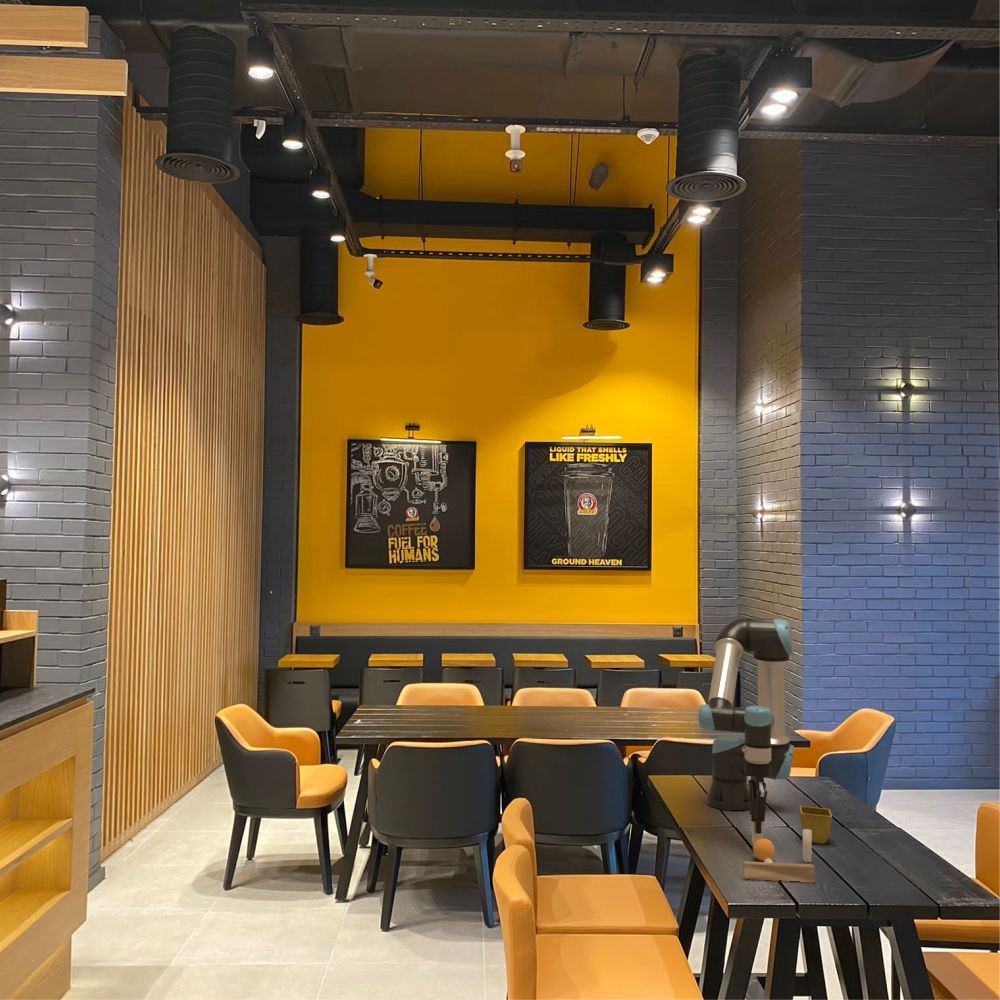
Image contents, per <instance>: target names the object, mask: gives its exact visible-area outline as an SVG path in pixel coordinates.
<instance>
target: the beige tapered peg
mask: <svg viewBox="0 0 1000 1000" xmlns="http://www.w3.org/2000/svg"><path fill="white" fill-rule="evenodd" d="M812 848H813V847H812V830H809V829H803V831H802V862H803V861H805V862H804V863H807V862H811V863H812V861H813V855H812V854H813V853H812V850H813V849H812Z"/></svg>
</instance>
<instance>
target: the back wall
mask: <svg viewBox="0 0 1000 1000" xmlns="http://www.w3.org/2000/svg"><path fill="white" fill-rule="evenodd" d="M742 870H743V872H742V873H743V876H744V877H743V878H745V879H751V880H750V881H765V880H769V881H770V880H771V882H780V881H779V880H782V881H781V882H789V881H800V882H799V883H813V882H815V883H816V881H815V879H816V878H815V877H816V874H815V873H816V867H815V865H814V864H812V863H792V862H791V863H788V862H787V863H786V862H784V863H783V862H774V863H767V862H764V861H743V869H742ZM745 879H744V880H745ZM752 879H753V880H752ZM769 881H768V882H769Z"/></svg>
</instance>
